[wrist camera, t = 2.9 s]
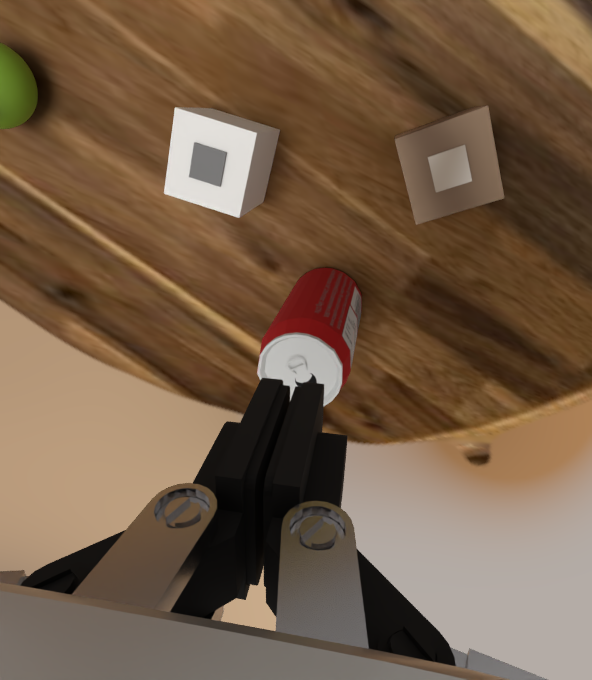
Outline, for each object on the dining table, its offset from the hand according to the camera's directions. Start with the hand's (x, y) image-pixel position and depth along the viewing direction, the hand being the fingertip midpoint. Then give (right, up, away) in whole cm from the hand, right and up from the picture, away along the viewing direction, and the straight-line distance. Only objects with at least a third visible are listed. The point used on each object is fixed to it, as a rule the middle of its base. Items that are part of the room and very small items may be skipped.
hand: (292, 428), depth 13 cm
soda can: (+3, +6, +24) cm, 25 cm away
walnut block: (+10, +14, +18) cm, 25 cm away
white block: (-4, +15, +21) cm, 26 cm away
